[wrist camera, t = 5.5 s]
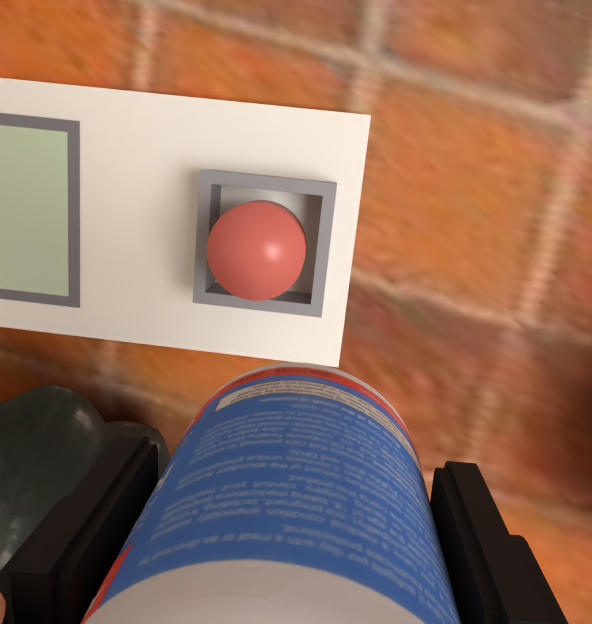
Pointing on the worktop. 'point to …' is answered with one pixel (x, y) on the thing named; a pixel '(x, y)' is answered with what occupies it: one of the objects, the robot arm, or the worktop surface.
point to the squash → (51, 455)
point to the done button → (257, 250)
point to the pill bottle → (285, 514)
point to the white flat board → (170, 216)
